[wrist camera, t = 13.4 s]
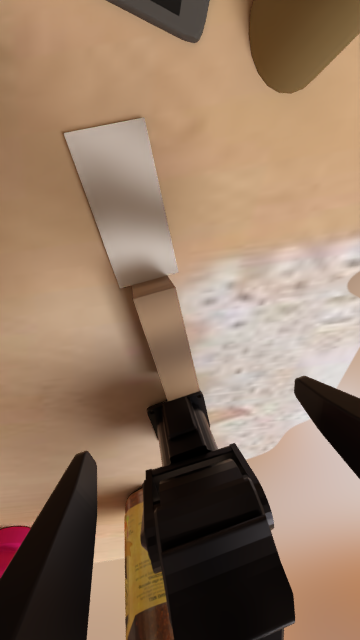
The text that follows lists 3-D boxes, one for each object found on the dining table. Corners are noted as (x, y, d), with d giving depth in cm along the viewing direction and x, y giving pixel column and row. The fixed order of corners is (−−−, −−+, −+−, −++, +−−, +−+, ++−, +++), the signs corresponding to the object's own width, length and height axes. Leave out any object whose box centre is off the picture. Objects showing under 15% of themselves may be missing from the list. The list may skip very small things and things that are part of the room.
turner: (197, 361, 23) (210, 387, 19) (152, 375, 22) (157, 405, 19) (143, 120, 14) (149, 85, 10) (65, 136, 13) (43, 105, 10)
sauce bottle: (115, 499, 30) (98, 900, 12) (154, 477, 30) (192, 852, 12) (141, 514, 33) (156, 853, 15) (176, 495, 33) (232, 814, 15)
